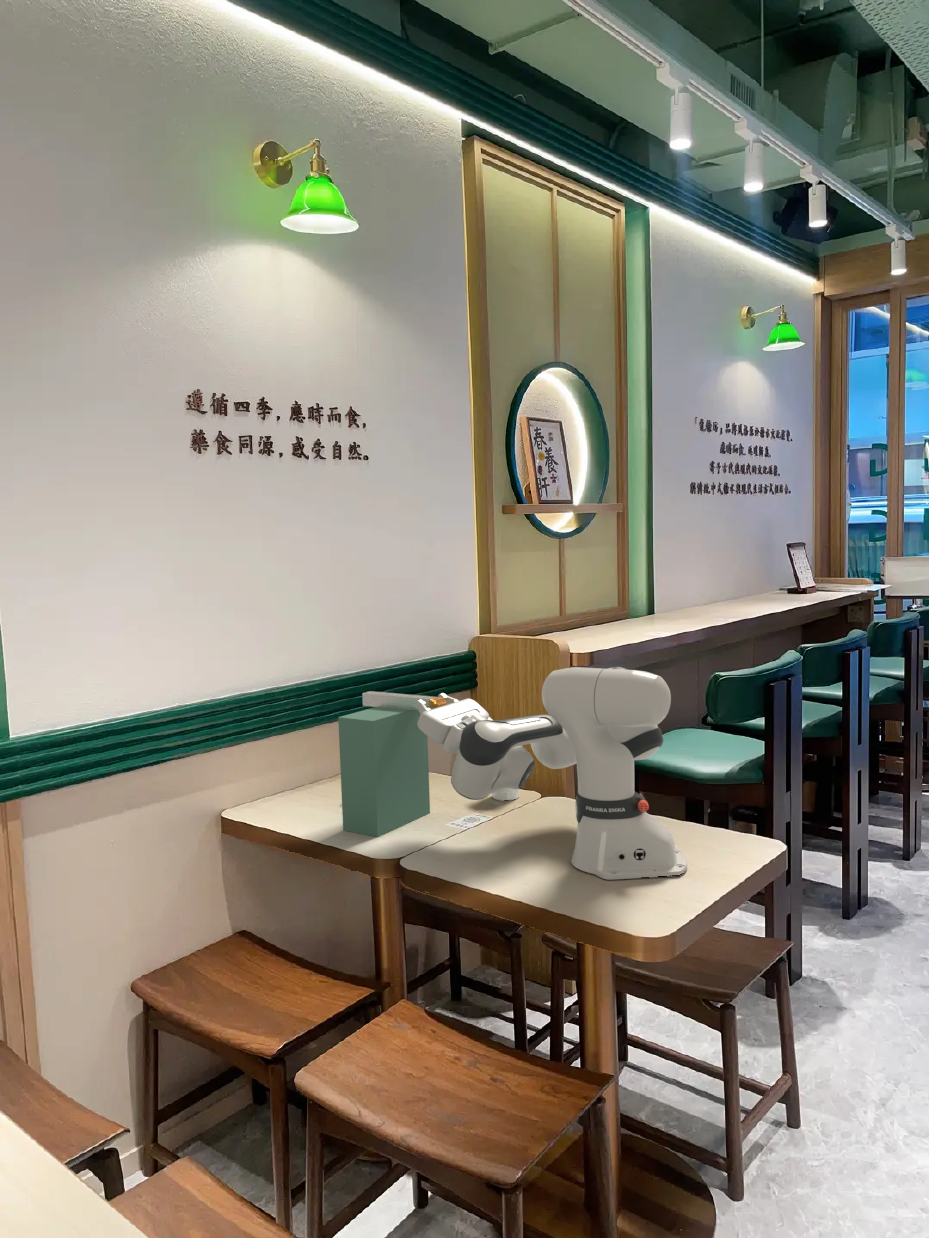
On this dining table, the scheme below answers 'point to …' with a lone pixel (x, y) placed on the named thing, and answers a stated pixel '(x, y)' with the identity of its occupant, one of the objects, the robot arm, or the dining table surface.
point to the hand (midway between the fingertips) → (428, 698)
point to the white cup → (506, 794)
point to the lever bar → (400, 700)
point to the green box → (382, 770)
